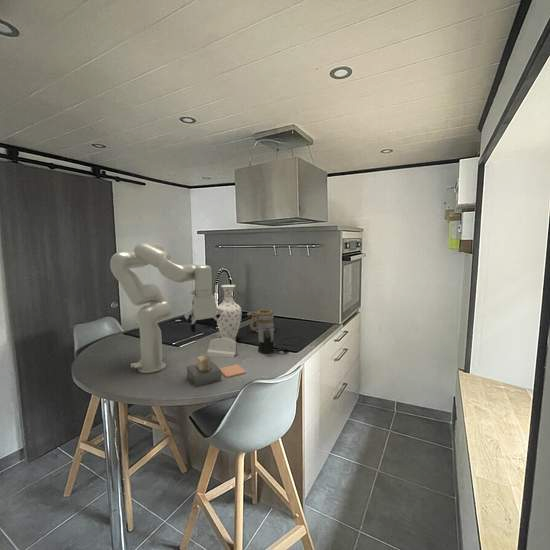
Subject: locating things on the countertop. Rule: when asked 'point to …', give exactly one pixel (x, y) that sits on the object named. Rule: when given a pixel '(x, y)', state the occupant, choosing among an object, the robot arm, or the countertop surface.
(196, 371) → the grey slotted holder
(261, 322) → the tankard
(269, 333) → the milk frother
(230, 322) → the vase
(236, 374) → the mat
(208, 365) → the peg
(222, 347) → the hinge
